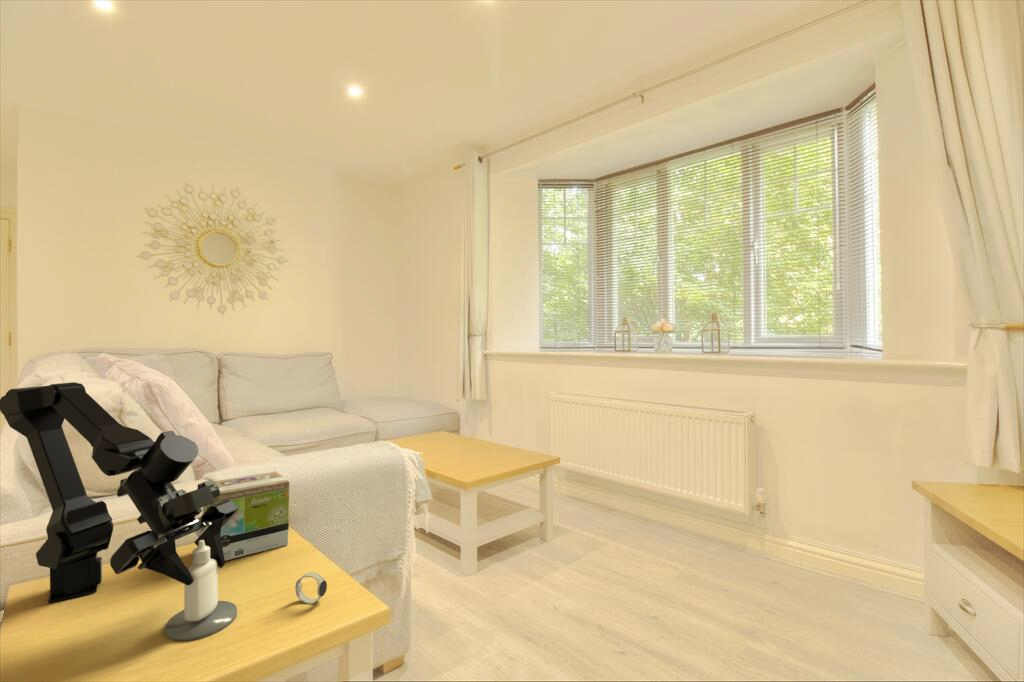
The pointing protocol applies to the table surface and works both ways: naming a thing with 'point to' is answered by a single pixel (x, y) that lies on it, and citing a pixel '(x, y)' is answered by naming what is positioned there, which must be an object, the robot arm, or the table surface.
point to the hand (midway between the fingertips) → (207, 574)
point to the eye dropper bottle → (201, 585)
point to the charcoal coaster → (201, 623)
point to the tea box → (254, 514)
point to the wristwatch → (321, 589)
